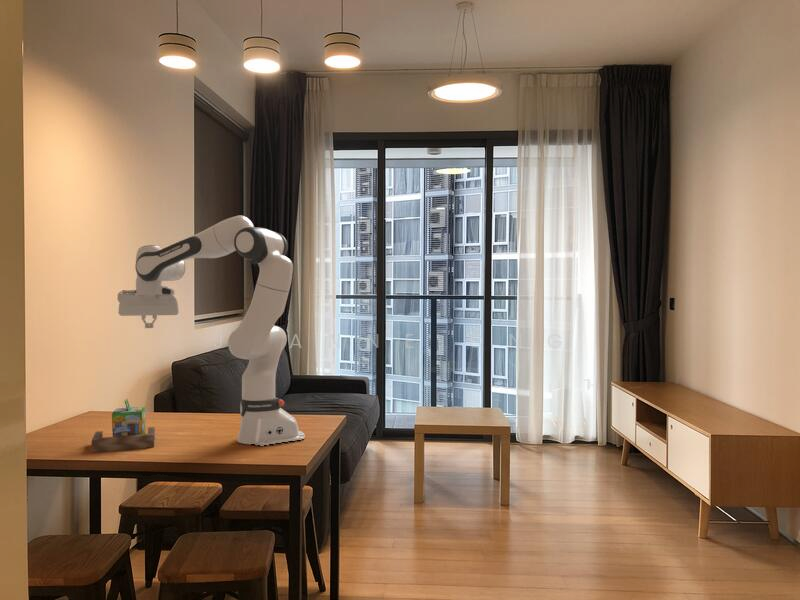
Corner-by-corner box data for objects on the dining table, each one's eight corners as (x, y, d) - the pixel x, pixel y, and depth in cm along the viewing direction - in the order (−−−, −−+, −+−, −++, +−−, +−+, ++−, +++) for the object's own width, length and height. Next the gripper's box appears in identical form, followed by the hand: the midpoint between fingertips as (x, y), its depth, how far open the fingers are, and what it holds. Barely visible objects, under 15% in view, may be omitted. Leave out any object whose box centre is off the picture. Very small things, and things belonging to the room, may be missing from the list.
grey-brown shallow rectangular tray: (154, 438, 203) (154, 427, 203) (154, 447, 192) (153, 434, 192) (96, 443, 197) (95, 431, 196) (91, 452, 185) (91, 439, 185)
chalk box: (142, 446, 193) (142, 401, 192) (111, 448, 190) (111, 402, 190) (146, 440, 201) (146, 396, 201) (117, 441, 199) (116, 397, 199)
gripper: (116, 290, 209) (117, 329, 210) (178, 290, 217) (178, 327, 217) (118, 290, 215) (118, 328, 215) (178, 290, 223) (178, 327, 223)
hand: (149, 328), depth 216 cm, fingers closed
